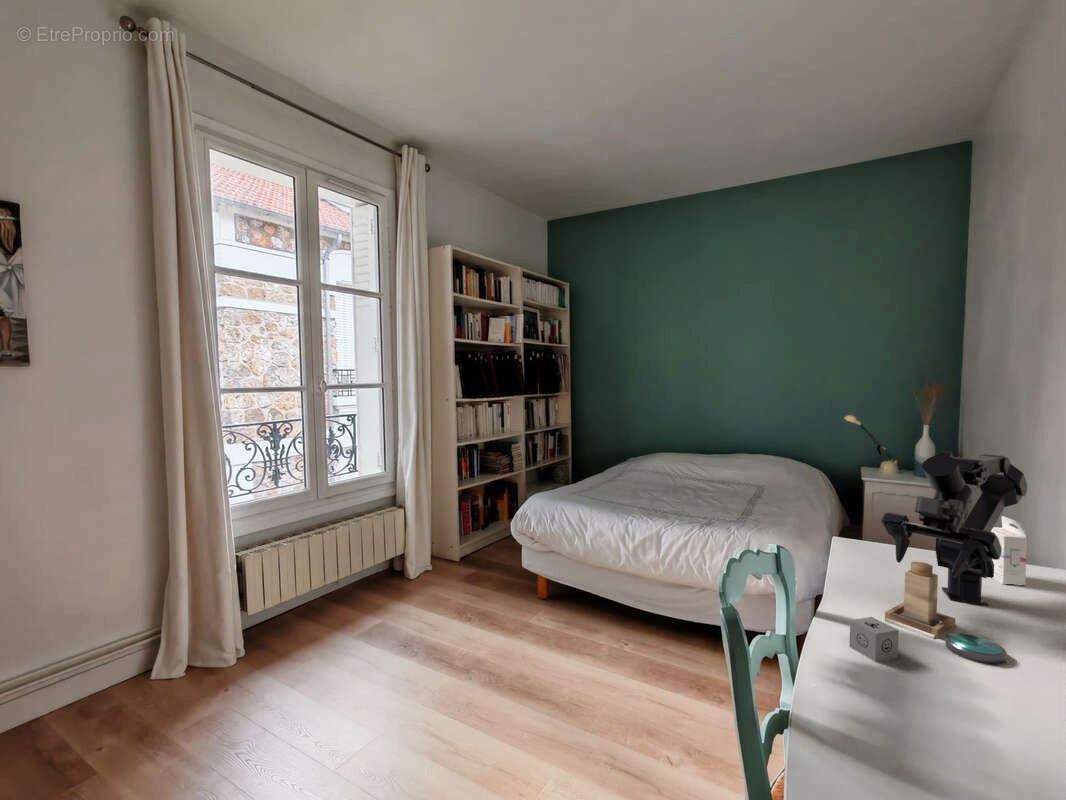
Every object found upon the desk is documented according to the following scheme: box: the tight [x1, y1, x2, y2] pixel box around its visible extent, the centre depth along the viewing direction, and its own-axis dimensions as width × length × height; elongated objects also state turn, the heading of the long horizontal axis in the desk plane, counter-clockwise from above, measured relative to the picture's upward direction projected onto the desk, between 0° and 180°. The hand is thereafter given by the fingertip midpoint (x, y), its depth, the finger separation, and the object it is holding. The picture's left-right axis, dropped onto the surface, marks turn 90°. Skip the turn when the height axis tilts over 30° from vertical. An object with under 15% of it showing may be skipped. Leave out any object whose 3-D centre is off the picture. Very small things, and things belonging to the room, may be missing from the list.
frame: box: [884, 601, 956, 639], centre depth 98 cm, size 10×9×2 cm
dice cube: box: [848, 616, 899, 663], centre depth 88 cm, size 5×5×5 cm
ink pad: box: [945, 632, 1007, 666], centre depth 88 cm, size 8×8×2 cm
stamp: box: [901, 561, 940, 626], centre depth 98 cm, size 5×5×11 cm
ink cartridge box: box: [991, 515, 1028, 586], centre depth 121 cm, size 9×5×15 cm, turn 168°
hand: (924, 568), depth 99 cm, fingers open, 9 cm apart
